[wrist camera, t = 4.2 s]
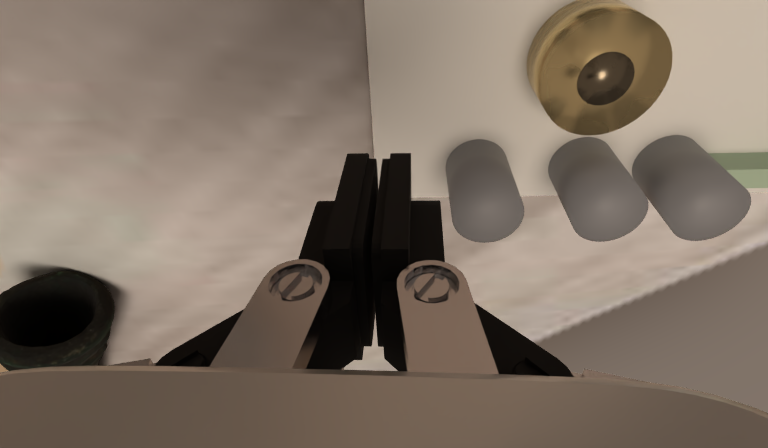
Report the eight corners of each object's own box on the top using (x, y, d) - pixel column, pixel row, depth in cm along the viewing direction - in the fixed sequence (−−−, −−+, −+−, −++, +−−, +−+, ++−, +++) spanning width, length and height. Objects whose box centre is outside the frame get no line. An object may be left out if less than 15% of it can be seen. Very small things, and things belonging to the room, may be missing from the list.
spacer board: (357, -147, 16) (340, -155, 12) (962, -183, 15) (1177, -204, 11) (377, 185, 24) (372, 248, 20) (762, 179, 23) (838, 244, 19)
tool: (31, 250, 29) (-53, 332, 24) (134, 284, 31) (77, 368, 25) (38, 435, 45) (-12, 510, 40) (106, 452, 46) (66, 525, 41)
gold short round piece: (536, -2, 17) (554, 15, 15) (658, -7, 17) (693, 10, 15) (519, 110, 20) (532, 137, 18) (624, 107, 20) (649, 135, 18)
